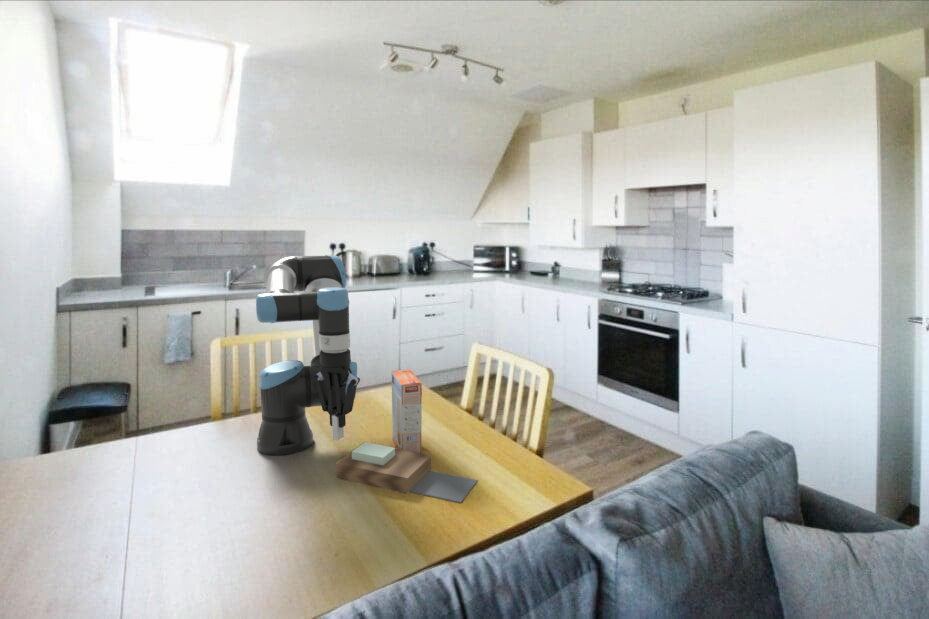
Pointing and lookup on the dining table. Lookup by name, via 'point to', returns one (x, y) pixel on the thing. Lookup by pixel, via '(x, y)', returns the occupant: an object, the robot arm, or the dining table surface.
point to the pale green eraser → (373, 453)
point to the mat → (444, 486)
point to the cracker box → (406, 411)
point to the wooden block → (386, 471)
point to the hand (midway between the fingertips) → (338, 438)
